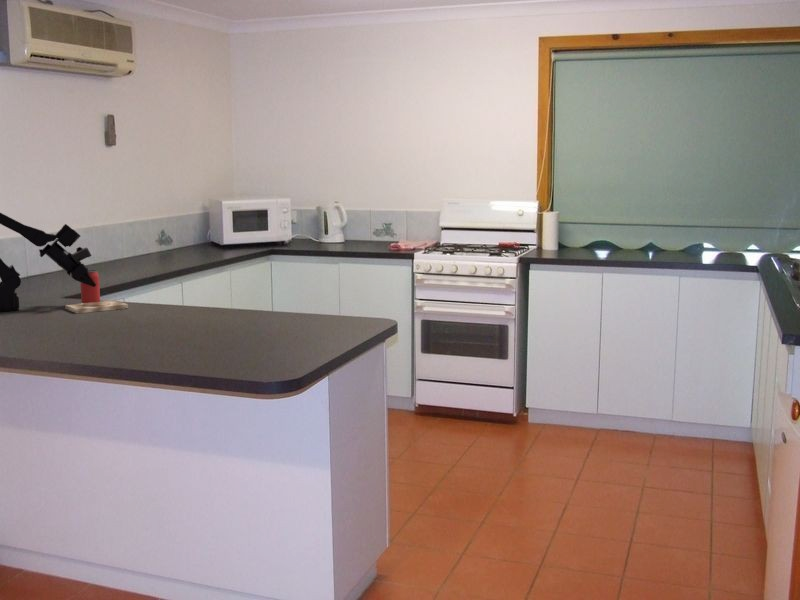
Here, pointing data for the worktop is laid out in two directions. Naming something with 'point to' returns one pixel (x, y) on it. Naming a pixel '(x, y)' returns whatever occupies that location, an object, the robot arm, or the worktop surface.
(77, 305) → the ash board
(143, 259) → the worktop surface
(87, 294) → the beer can
